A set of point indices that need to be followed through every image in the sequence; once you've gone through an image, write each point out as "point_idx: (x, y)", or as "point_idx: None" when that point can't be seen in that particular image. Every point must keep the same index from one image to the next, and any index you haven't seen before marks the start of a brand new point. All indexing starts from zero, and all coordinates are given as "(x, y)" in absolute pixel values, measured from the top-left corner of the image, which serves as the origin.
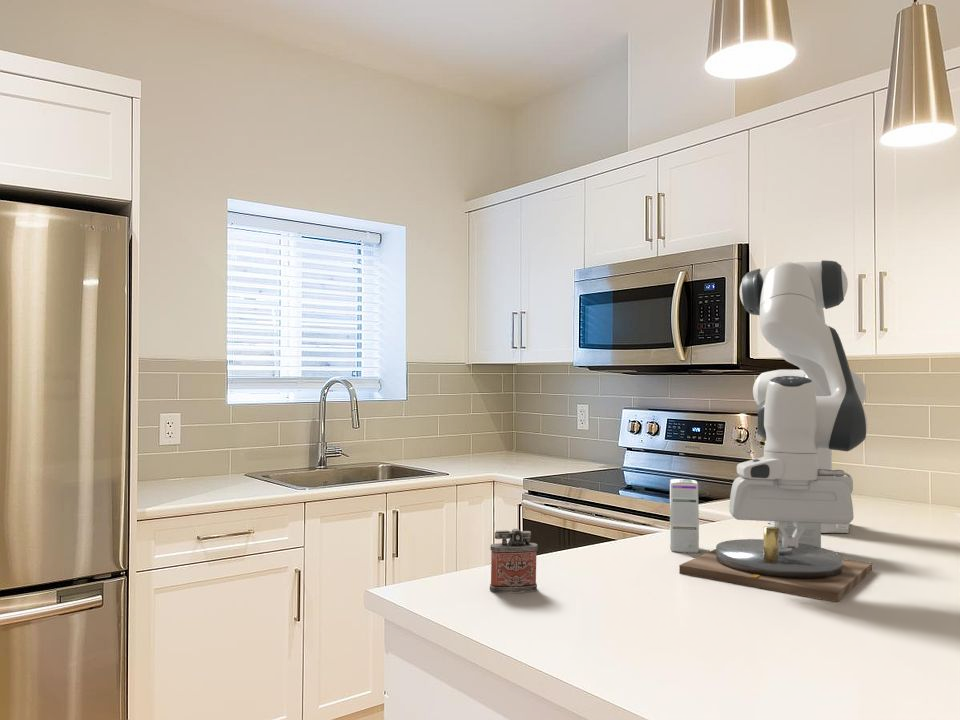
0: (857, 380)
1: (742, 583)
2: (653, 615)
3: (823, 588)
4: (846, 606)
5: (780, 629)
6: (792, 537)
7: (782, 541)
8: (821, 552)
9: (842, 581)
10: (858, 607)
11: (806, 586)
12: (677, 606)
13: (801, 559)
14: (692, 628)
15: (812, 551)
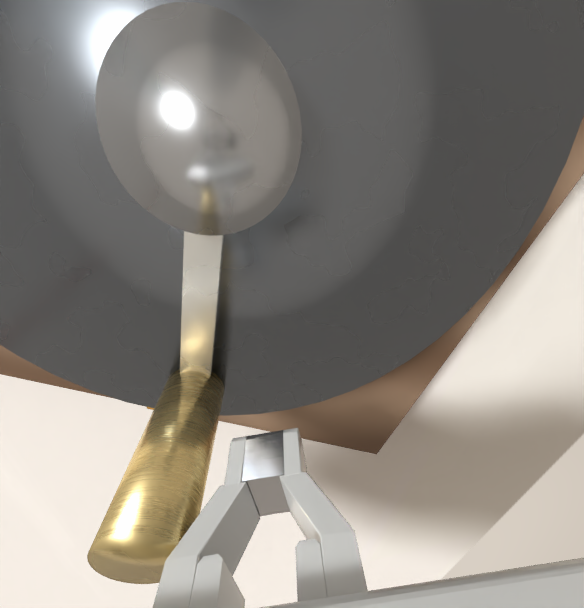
0: None
1: None
2: (43, 585)
3: (351, 433)
4: (381, 451)
5: (242, 571)
6: (281, 497)
7: (229, 458)
8: (503, 31)
9: (434, 346)
10: (405, 448)
11: (308, 432)
12: (56, 548)
13: (327, 297)
14: (121, 600)
15: (449, 17)
